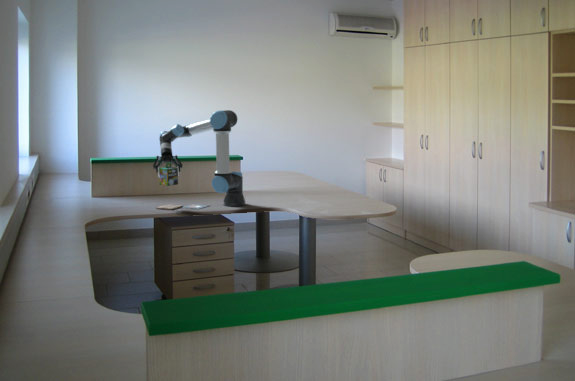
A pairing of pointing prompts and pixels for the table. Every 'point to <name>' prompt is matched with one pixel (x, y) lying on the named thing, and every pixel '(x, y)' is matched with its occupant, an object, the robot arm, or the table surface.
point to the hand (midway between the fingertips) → (168, 175)
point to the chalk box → (168, 175)
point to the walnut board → (169, 207)
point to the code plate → (195, 206)
